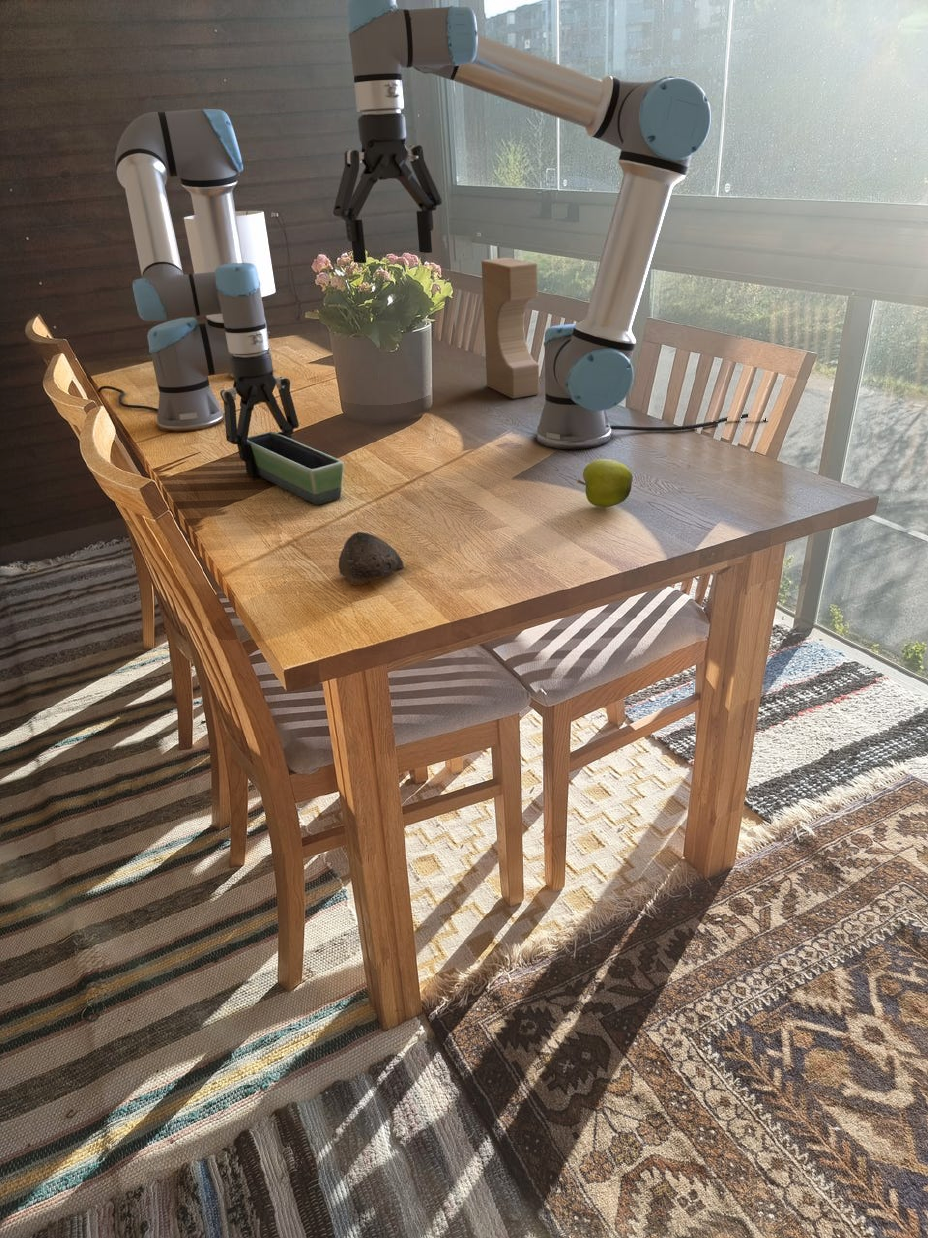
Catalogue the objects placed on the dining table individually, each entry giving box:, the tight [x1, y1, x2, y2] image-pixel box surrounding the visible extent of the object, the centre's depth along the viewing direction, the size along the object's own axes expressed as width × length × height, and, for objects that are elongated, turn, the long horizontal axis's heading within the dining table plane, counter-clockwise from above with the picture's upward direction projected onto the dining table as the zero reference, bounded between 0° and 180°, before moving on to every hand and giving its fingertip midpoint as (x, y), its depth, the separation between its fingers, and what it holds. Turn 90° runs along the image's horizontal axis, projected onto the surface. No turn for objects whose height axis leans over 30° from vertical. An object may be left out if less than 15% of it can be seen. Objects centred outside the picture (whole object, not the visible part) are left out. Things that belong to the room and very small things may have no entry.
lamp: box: [183, 210, 276, 379], centre depth 242 cm, size 21×21×42 cm
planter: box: [247, 431, 345, 506], centre depth 167 cm, size 28×7×7 cm, turn 39°
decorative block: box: [481, 256, 540, 399], centre depth 213 cm, size 15×8×30 cm, turn 24°
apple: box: [577, 458, 634, 508], centre depth 149 cm, size 8×9×8 cm
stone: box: [338, 531, 405, 586], centre depth 130 cm, size 10×8×10 cm
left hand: (269, 469), depth 176 cm, fingers closed on planter, 7 cm apart
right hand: (393, 257), depth 150 cm, fingers open, 13 cm apart
